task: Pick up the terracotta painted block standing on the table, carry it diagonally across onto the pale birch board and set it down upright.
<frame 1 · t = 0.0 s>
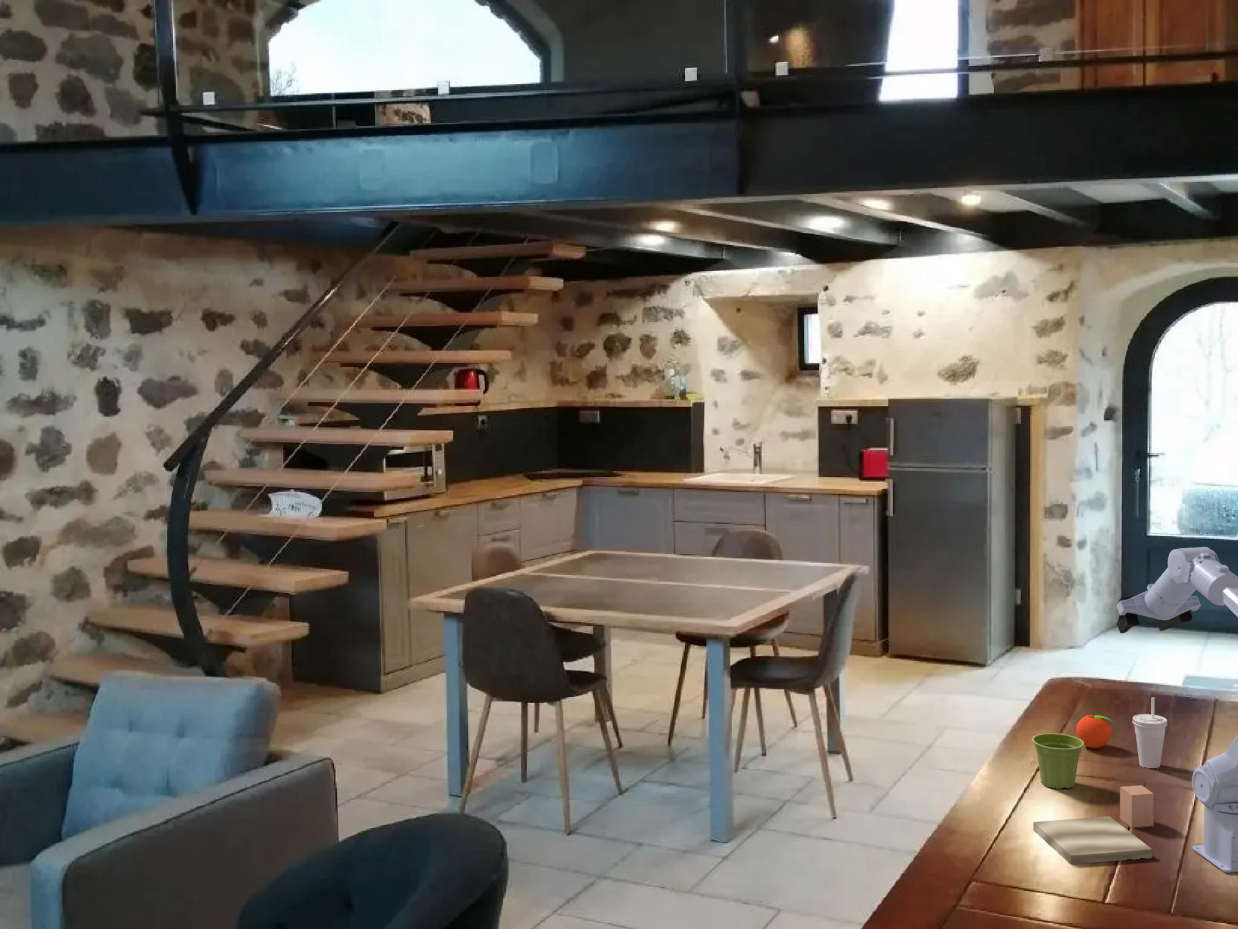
hand: (1140, 627, 217), 32 cm above the table, tool tilted 50°, fingers open, 7 cm apart
clementine: (1096, 748, 247), on the table
plant pot: (1057, 785, 228), on the table
block: (1136, 823, 208), on the table
smoothie: (1149, 766, 236), on the table
board: (1090, 843, 200), on the table
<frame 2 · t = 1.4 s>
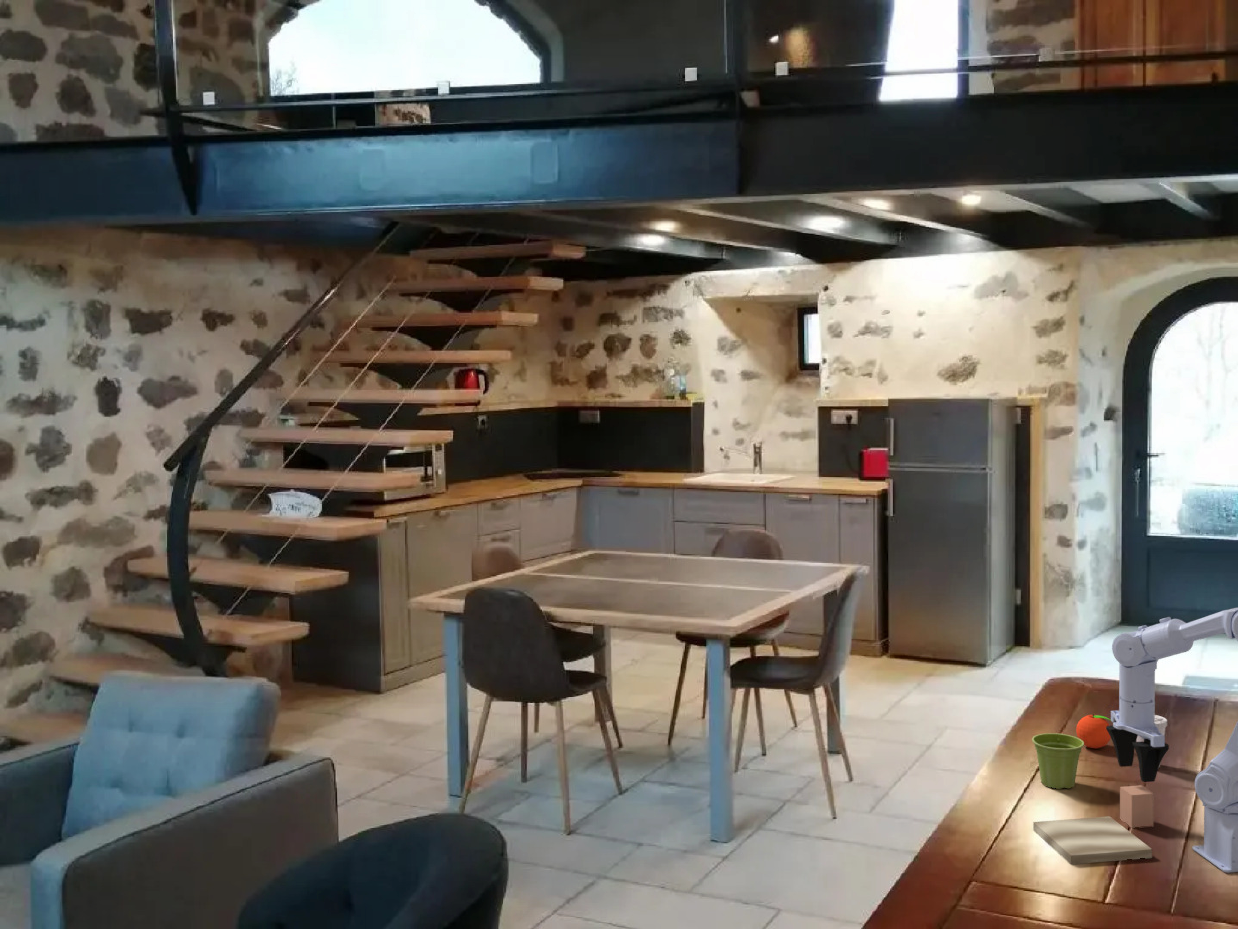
hand: (1136, 773, 208), 9 cm above the table, tool pointing down, fingers open, 7 cm apart
nothing on the table moved.
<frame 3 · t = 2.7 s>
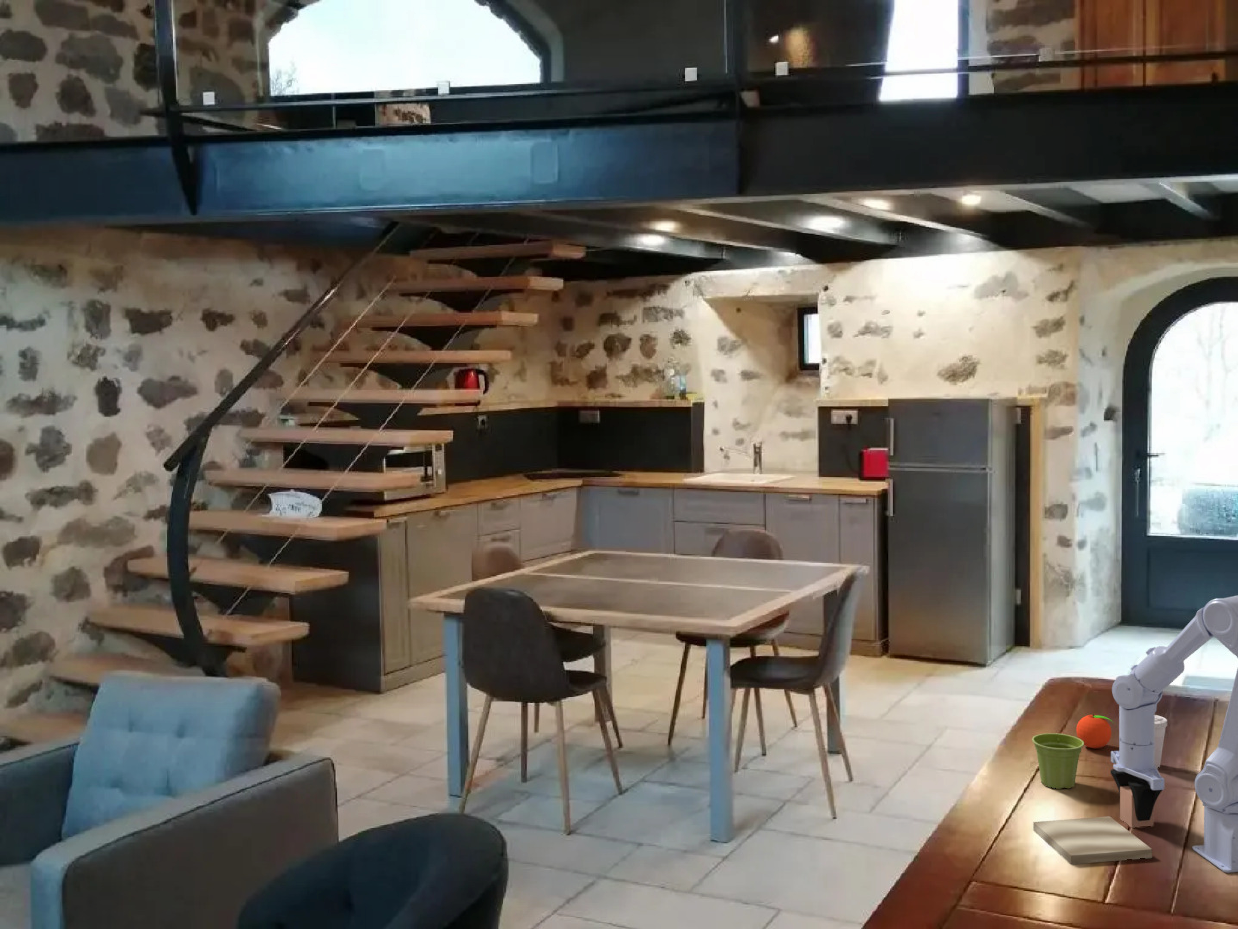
hand: (1136, 815, 208), 1 cm above the table, tool pointing down, fingers closed on block, 4 cm apart
block: (1136, 822, 208), on the table, touching gripper
everything else where it was.
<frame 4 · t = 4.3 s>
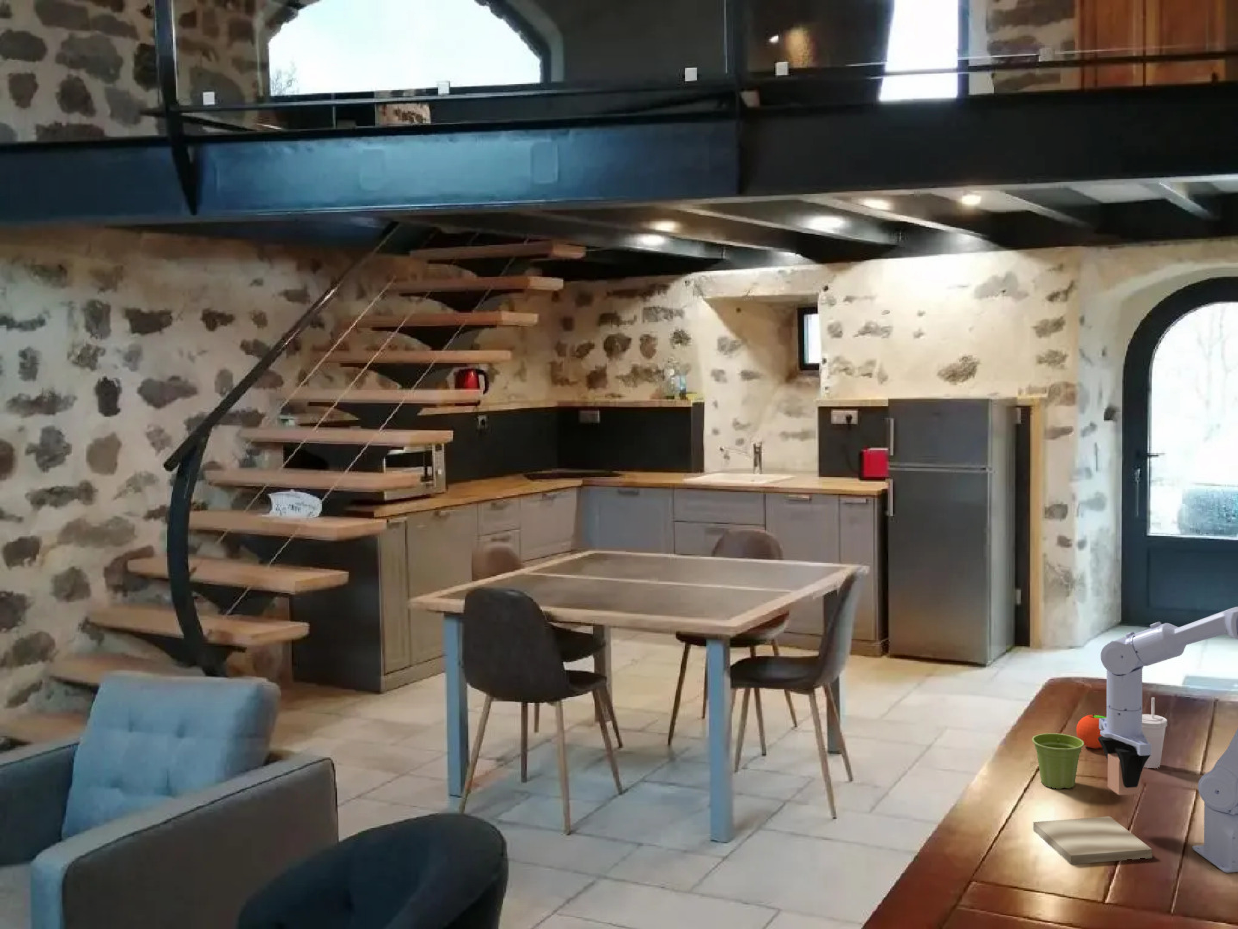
hand: (1124, 782, 205), 8 cm above the table, tool pointing down, fingers closed on block, 4 cm apart
block: (1124, 790, 205), point 7 cm above the table, touching gripper
everything else where it was.
when the fingers open (4 cm above the table, at t = 6.0 s): block drops 1 cm, resting on board.
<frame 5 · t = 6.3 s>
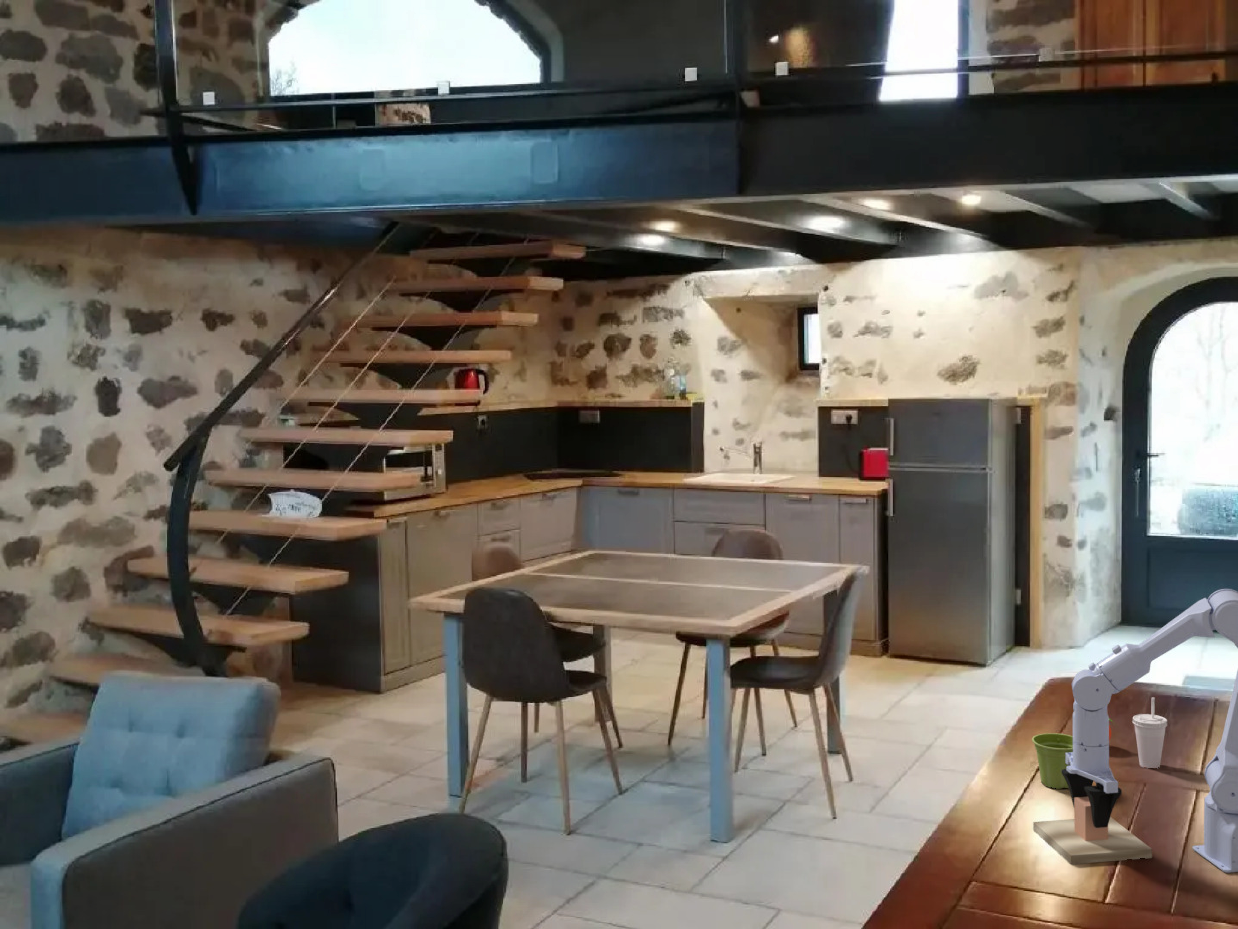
hand: (1090, 818, 200), 4 cm above the table, tool pointing down, fingers open, 6 cm apart
block: (1091, 835, 200), point 1 cm above the table, touching board
everything else where it was.
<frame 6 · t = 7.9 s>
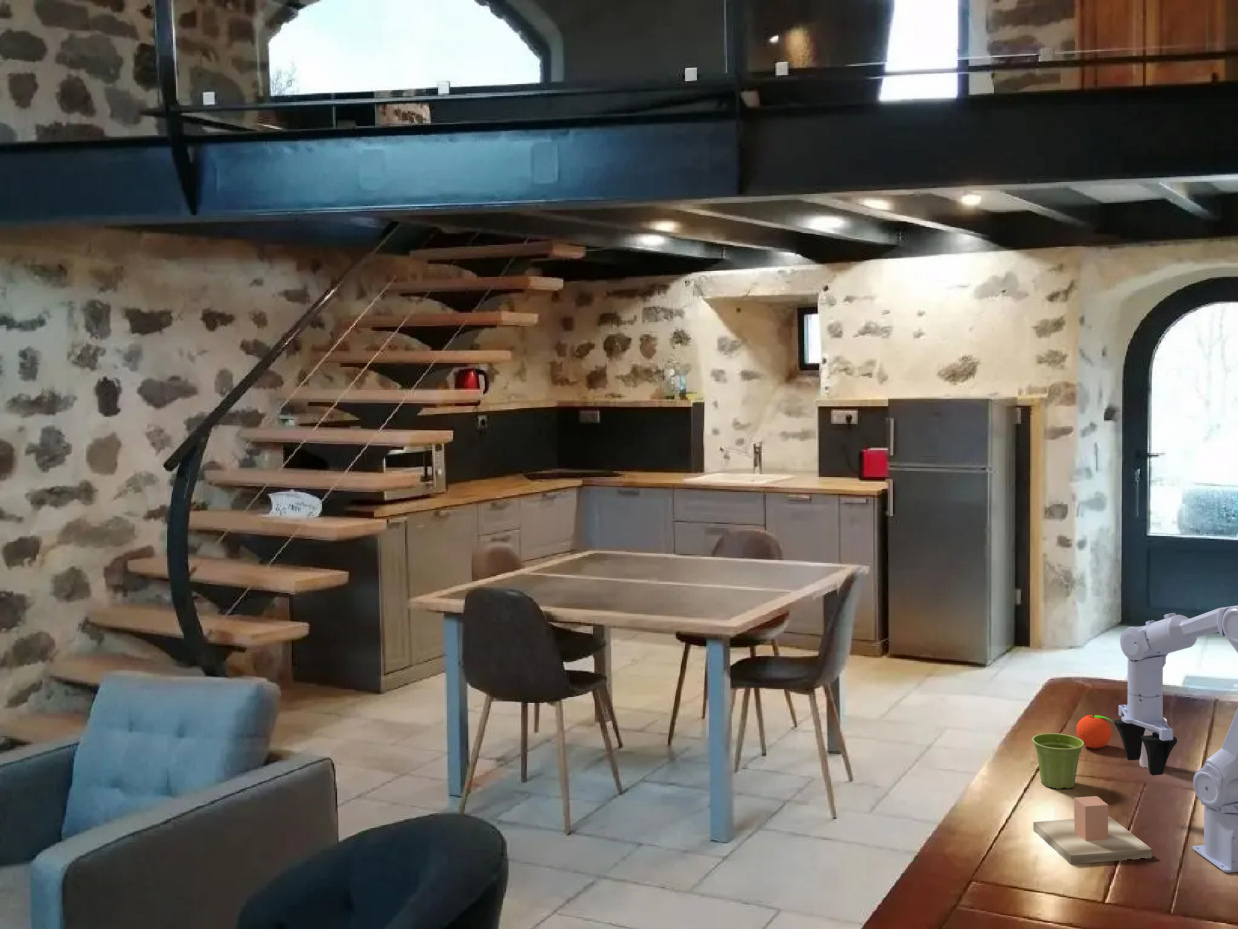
hand: (1144, 767, 209), 9 cm above the table, tool pointing down, fingers open, 7 cm apart
nothing on the table moved.
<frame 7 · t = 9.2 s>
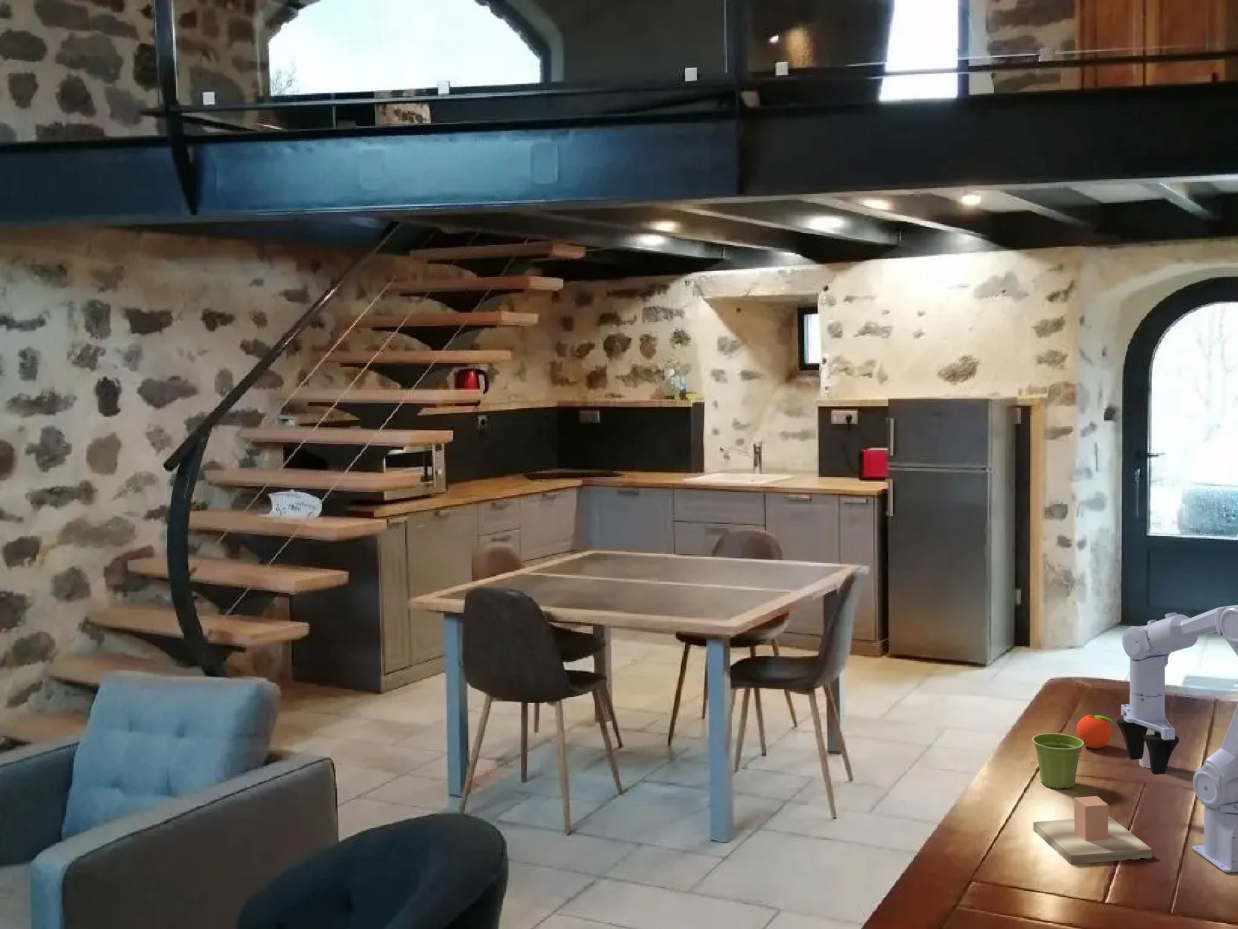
hand: (1146, 766, 210), 9 cm above the table, tool pointing down, fingers open, 7 cm apart
nothing on the table moved.
at the end: block inside the target area on the board (0.1 cm from its centre), point 1.5 cm above the board's base; block tilted 0°; the gripper is holding nothing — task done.
